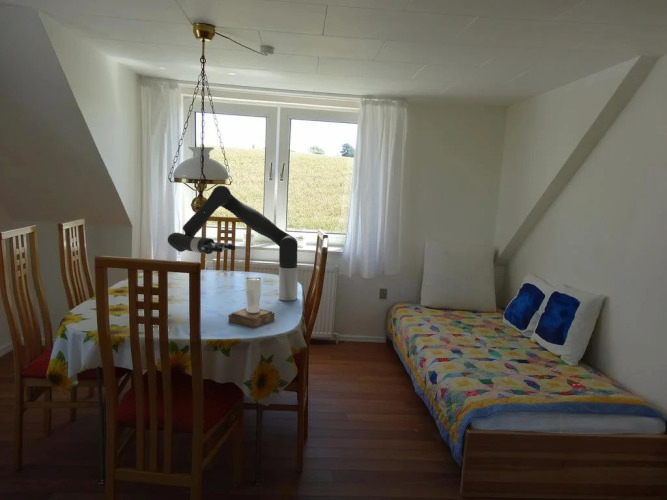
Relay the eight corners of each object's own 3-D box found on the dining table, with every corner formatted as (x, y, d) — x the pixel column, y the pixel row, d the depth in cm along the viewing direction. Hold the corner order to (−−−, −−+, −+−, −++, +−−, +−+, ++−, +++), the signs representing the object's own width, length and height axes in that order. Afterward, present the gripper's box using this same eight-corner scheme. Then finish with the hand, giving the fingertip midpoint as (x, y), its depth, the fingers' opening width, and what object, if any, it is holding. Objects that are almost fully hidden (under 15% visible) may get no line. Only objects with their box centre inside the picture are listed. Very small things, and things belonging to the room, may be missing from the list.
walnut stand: (249, 314, 205) (249, 306, 204) (274, 319, 198) (274, 311, 198) (228, 322, 193) (228, 313, 192) (253, 328, 186) (254, 318, 186)
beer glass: (241, 311, 196) (242, 277, 194) (255, 308, 201) (255, 276, 199) (250, 314, 191) (251, 280, 189) (264, 312, 196) (264, 278, 194)
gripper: (191, 238, 204) (217, 242, 196) (213, 236, 216) (239, 239, 208) (191, 255, 205) (217, 258, 197) (213, 251, 217) (239, 255, 210)
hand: (228, 248), depth 203 cm, fingers open, 8 cm apart
